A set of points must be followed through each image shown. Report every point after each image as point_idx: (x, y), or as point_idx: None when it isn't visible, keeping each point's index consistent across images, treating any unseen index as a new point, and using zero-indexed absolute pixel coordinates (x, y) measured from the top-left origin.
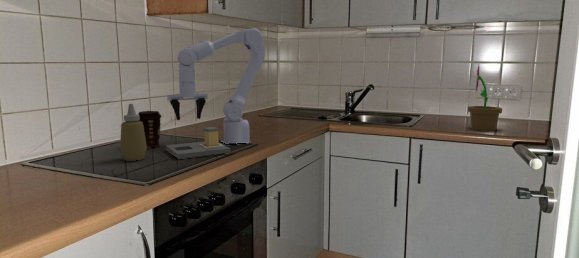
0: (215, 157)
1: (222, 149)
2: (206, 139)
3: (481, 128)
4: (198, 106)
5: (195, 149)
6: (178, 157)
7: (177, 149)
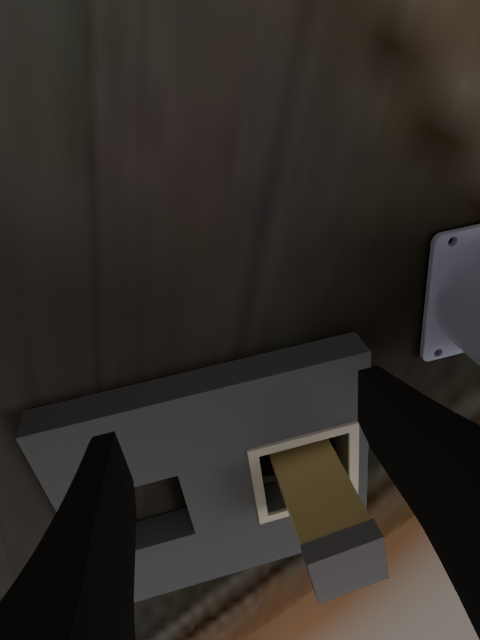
0: None
1: None
2: (289, 513)
3: None
4: (457, 552)
5: (203, 544)
6: None
7: None
